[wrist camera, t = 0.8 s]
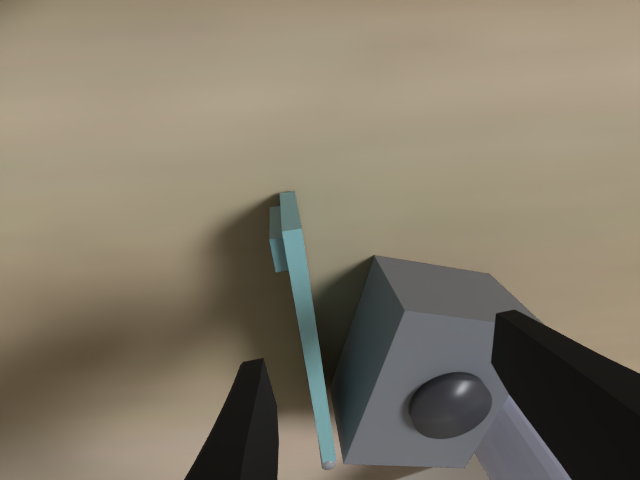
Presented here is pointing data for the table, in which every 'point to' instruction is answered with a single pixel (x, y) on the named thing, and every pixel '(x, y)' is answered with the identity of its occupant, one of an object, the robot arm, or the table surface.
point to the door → (302, 311)
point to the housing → (420, 366)
